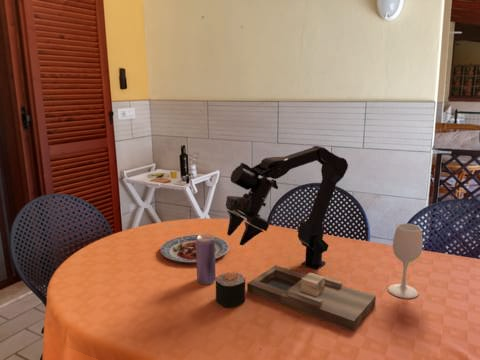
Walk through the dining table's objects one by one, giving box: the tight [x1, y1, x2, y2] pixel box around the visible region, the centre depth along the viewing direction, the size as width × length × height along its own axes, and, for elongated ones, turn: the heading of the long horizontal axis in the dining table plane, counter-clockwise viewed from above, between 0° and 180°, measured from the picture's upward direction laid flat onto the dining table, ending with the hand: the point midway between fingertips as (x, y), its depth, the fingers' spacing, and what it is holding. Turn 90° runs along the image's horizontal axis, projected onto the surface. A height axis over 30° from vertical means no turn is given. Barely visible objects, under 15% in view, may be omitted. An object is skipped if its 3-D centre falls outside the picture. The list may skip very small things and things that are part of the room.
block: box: [301, 272, 325, 296], centre depth 122 cm, size 5×5×4 cm
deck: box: [246, 264, 377, 332], centre depth 123 cm, size 16×34×4 cm, turn 53°
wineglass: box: [387, 223, 424, 300], centre depth 125 cm, size 9×9×21 cm
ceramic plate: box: [160, 234, 230, 263], centre depth 157 cm, size 26×26×3 cm
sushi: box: [215, 271, 246, 309], centre depth 121 cm, size 8×8×8 cm
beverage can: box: [196, 233, 217, 285], centre depth 133 cm, size 6×6×15 cm
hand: (234, 239), depth 130 cm, fingers open, 9 cm apart
